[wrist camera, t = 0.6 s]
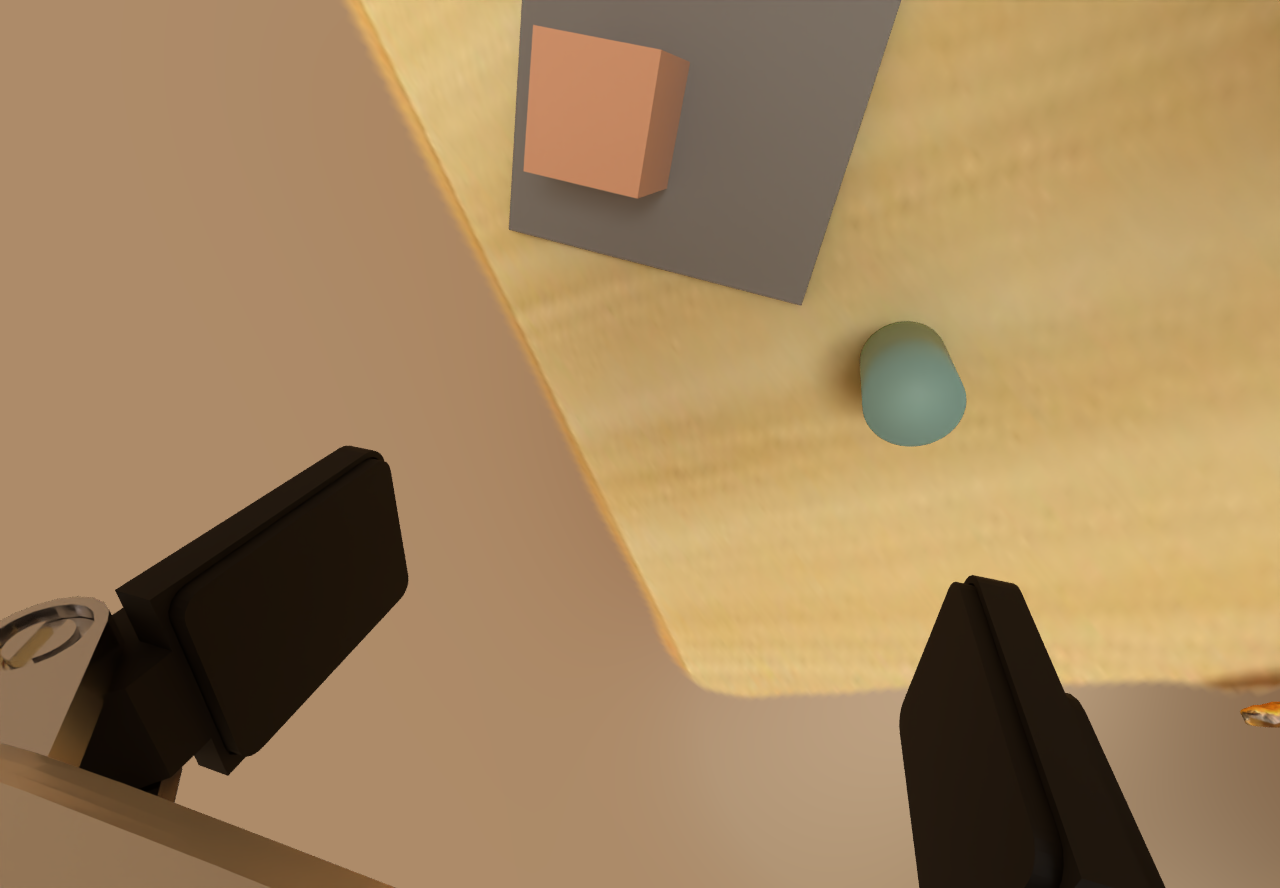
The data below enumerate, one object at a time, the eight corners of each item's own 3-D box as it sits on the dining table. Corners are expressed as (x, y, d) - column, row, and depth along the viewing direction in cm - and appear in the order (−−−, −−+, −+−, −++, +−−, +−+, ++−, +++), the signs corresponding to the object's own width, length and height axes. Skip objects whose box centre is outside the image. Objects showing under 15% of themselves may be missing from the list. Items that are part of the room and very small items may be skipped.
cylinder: (877, 312, 36) (883, 348, 30) (960, 333, 35) (984, 374, 29) (848, 384, 39) (848, 430, 33) (925, 406, 38) (940, 457, 32)
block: (580, 40, 33) (532, 24, 28) (690, 62, 32) (661, 49, 27) (567, 165, 36) (523, 171, 31) (666, 188, 35) (637, 198, 30)
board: (534, -73, 32) (526, -79, 31) (904, -13, 29) (906, -17, 28) (515, 227, 40) (508, 229, 40) (802, 301, 37) (801, 305, 36)
